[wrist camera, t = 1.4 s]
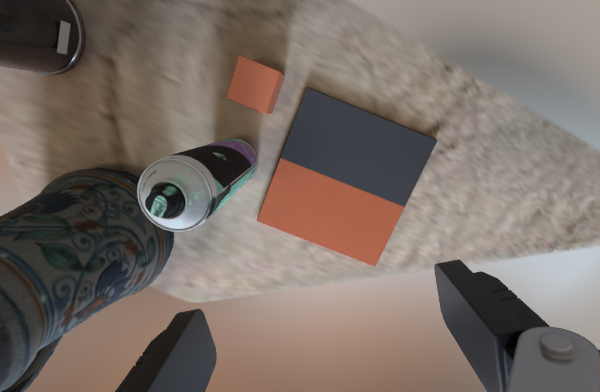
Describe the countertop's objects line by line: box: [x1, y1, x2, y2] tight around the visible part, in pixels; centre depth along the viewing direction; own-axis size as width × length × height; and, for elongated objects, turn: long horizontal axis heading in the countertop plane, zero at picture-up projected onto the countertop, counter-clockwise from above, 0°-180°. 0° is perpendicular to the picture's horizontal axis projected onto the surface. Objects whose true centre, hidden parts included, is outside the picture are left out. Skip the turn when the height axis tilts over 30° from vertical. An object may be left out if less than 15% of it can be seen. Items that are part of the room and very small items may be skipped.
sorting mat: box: [257, 87, 437, 266], centre depth 40 cm, size 16×17×1 cm
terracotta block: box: [226, 56, 284, 114], centre depth 36 cm, size 4×4×4 cm
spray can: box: [137, 138, 257, 232], centre depth 30 cm, size 6×6×20 cm
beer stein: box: [0, 168, 174, 392], centre depth 31 cm, size 16×19×25 cm
